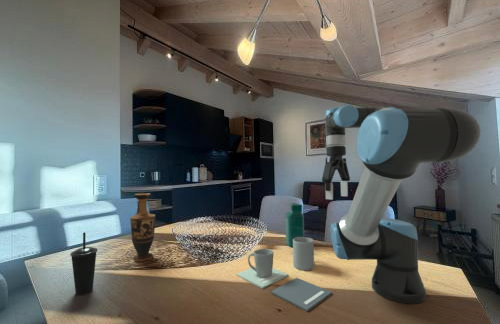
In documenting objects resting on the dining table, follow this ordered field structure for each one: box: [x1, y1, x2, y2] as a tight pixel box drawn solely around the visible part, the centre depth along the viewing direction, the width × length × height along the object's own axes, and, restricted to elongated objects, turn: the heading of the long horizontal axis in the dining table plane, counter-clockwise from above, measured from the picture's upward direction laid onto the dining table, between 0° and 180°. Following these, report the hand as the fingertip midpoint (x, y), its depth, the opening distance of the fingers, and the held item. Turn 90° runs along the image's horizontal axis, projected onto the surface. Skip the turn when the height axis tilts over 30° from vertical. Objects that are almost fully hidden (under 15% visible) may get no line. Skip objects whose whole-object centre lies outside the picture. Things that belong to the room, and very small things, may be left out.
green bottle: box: [284, 202, 305, 248], centre depth 127 cm, size 10×8×22 cm
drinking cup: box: [70, 232, 98, 296], centre depth 82 cm, size 8×8×20 cm
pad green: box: [236, 265, 289, 290], centre depth 91 cm, size 14×14×1 cm
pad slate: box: [270, 277, 333, 312], centre depth 78 cm, size 14×14×1 cm
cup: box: [247, 248, 274, 277], centre depth 91 cm, size 8×10×8 cm
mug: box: [292, 236, 315, 272], centre depth 101 cm, size 12×8×11 cm
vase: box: [129, 192, 156, 262], centre depth 111 cm, size 11×11×30 cm
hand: (337, 197), depth 99 cm, fingers open, 13 cm apart
